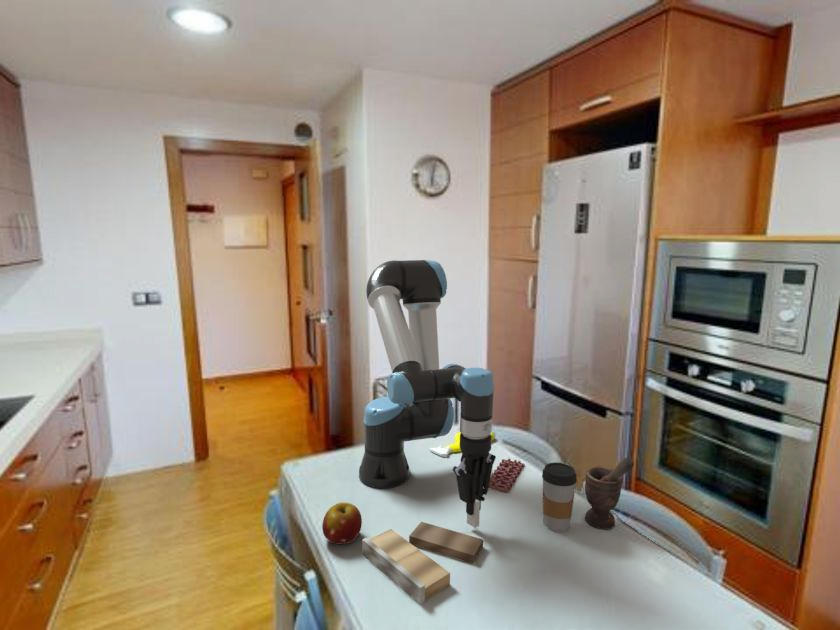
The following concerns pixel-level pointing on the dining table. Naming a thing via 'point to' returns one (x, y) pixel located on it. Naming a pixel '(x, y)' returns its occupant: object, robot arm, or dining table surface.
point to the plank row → (406, 565)
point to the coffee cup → (558, 495)
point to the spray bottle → (451, 447)
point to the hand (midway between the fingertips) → (472, 524)
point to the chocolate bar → (505, 475)
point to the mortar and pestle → (604, 492)
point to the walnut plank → (446, 542)
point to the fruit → (342, 523)
